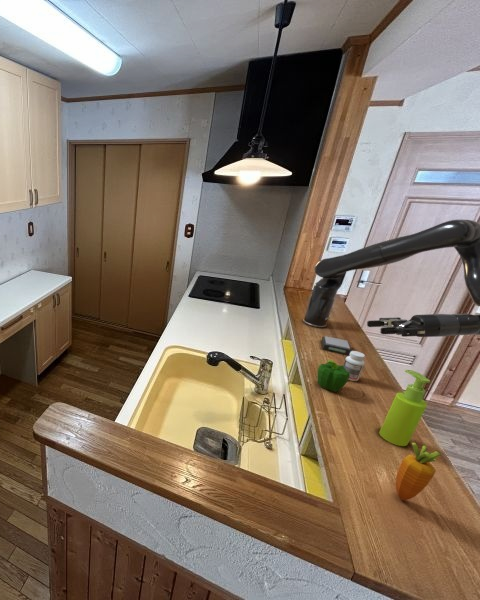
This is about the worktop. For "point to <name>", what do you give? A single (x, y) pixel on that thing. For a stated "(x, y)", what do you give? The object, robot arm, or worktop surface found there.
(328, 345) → the scale
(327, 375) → the bell pepper
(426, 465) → the carrot
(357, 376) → the pill bottle
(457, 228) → the robot arm
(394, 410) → the soap dispenser
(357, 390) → the worktop surface
